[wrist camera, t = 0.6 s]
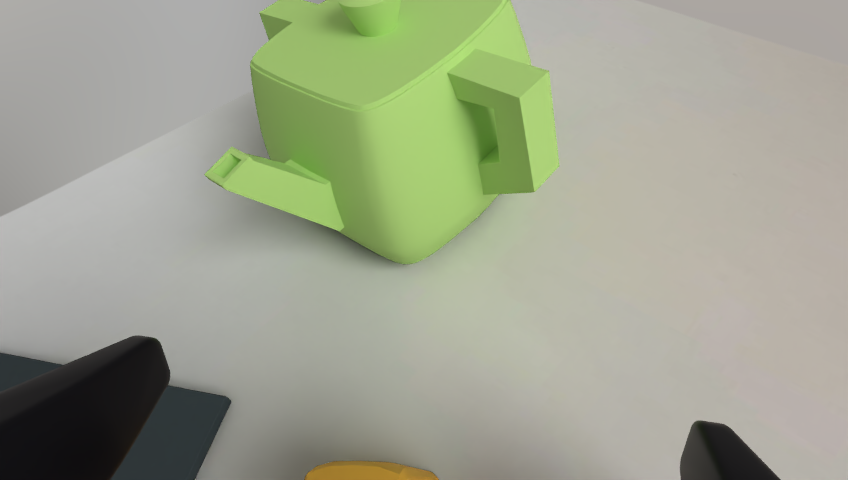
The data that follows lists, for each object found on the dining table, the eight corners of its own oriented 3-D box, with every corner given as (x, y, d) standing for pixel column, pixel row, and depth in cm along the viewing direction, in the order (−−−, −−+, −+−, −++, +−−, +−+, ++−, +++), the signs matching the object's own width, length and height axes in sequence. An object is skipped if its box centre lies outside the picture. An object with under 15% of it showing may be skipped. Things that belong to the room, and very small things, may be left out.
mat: (131, 612, 20) (122, 612, 20) (-197, 495, 26) (-210, 492, 26) (232, 400, 26) (226, 396, 25) (-62, 343, 32) (-71, 338, 31)
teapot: (420, 399, 24) (339, 225, 14) (203, 229, 34) (67, 58, 24) (608, 169, 31) (643, -54, 21) (383, 85, 41) (336, -92, 31)
